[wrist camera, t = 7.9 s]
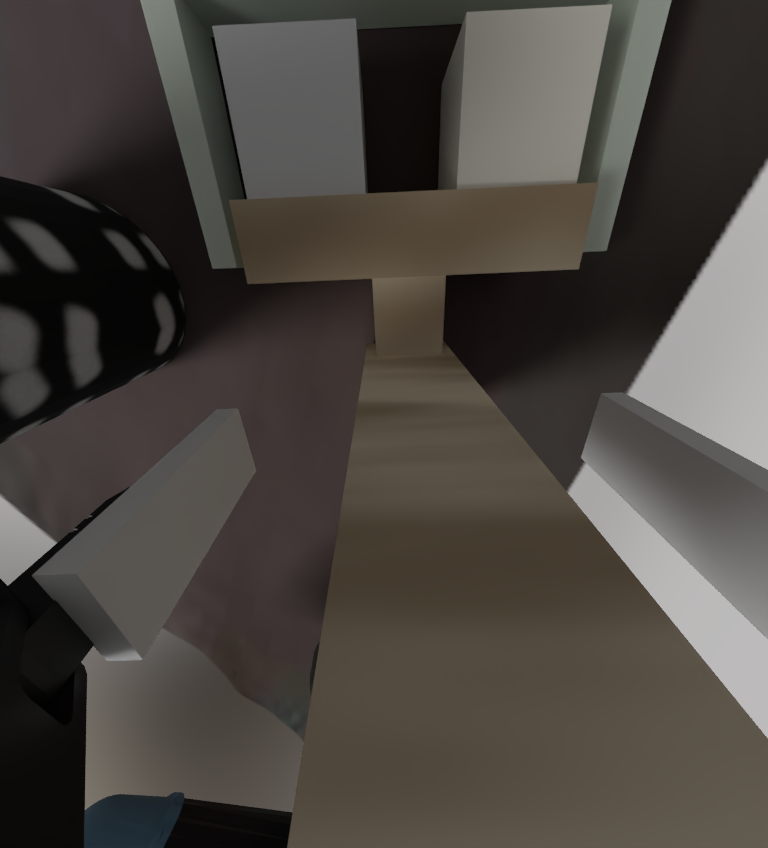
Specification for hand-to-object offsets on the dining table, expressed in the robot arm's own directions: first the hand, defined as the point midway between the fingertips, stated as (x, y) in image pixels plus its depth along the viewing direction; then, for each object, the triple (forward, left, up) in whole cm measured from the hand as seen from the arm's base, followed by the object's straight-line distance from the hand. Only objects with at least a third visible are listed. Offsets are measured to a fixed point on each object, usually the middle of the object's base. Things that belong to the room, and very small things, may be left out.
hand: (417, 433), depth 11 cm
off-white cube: (+10, -3, -7) cm, 12 cm away
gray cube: (+10, +4, -7) cm, 12 cm away
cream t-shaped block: (+3, 0, -6) cm, 7 cm away
